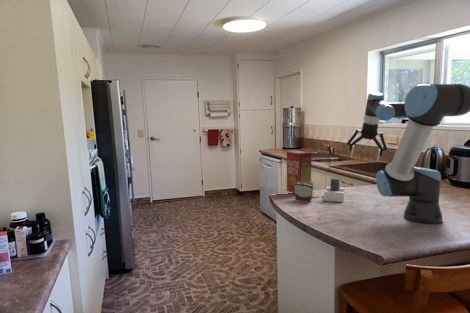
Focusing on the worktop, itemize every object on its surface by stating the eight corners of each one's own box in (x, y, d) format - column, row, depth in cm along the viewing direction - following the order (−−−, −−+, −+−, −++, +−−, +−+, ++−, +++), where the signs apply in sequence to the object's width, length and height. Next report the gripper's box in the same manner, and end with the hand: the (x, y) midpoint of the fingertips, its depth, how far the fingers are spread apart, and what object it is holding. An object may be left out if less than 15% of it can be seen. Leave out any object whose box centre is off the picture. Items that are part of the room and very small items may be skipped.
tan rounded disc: (318, 198, 182) (318, 197, 182) (306, 197, 185) (306, 196, 185) (320, 195, 189) (320, 194, 189) (308, 194, 191) (308, 193, 191)
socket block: (343, 202, 174) (343, 193, 173) (324, 200, 177) (324, 191, 177) (344, 196, 186) (344, 187, 186) (326, 194, 190) (326, 186, 189)
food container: (318, 201, 177) (318, 183, 175) (312, 203, 172) (313, 185, 171) (298, 197, 185) (299, 180, 184) (293, 199, 180) (293, 182, 179)
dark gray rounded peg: (338, 199, 179) (339, 180, 177) (329, 199, 181) (330, 179, 179) (339, 197, 183) (339, 178, 182) (330, 197, 185) (331, 178, 184)
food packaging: (285, 190, 201) (286, 151, 198) (297, 188, 206) (297, 150, 202) (299, 195, 190) (300, 153, 186) (311, 193, 194) (312, 152, 191)
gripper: (397, 123, 167) (388, 159, 176) (347, 117, 176) (341, 152, 185) (397, 127, 161) (388, 165, 170) (345, 121, 170) (340, 157, 179)
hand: (364, 158), depth 178 cm, fingers open, 13 cm apart
